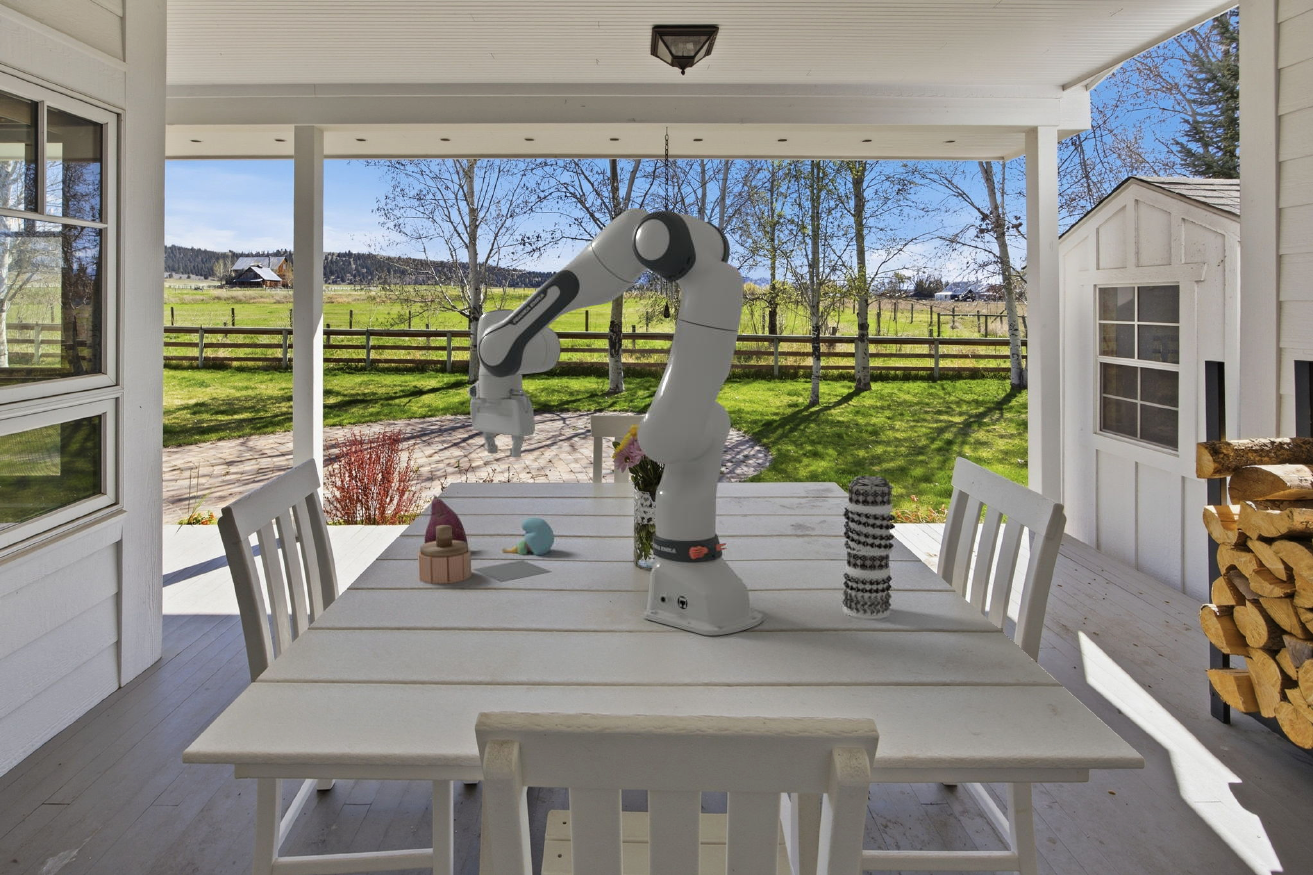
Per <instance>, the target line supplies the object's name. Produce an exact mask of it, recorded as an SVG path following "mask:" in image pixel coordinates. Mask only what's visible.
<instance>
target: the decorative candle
mask: <svg viewBox="0 0 1313 875" xmlns="http://www.w3.org/2000/svg"><path fill="white" fill-rule="evenodd" d="M847 487H848V501H847V506H846V507H844V510H845V511H844V513H843V514H842V515H843V517H844V519H845V520H846V521H845V522H844V524H843V527H844V528H845V530H844V532H843V536H844V538H845V539H846V540H845V542H844V544H843V545H844V550H845V551H847V552H846V563H845V573H844V574H843V578H844V580H845V581H844V582H843V586H844V588H845V589H844V590H843V591H842V595H843V597H844V598H843V599H842V604H843V605H844V606H843V607H842V611H843V613H844V614H845V615H848V616H849V615H850V617H853V618H856V619H862V620H863V619H864V620H879V619H885V618H887V617H889V616H890V614H891V611H890V607H892V603H891V602H890V600H891V599H892V595H891V593H890V592H889V591H890V590H891V589H892V585H891V581H892V580H893V577H892V576H891V566H890V554H892V552H893V548H894V544H893V543H892V542H891V541H892V540H893V539H894V537H895V536H894V535H893V534H891V531H892V530H893V529H895V528H896V526H895V524H893V523H892V522H893V521H894V520H896V516H894V515H893V513H892V512H893V503H892V489H894V486H893V485H891V484H890V482H889V480H887V478H885V477H882V476H877V475H860V476H856V477H854V479H853V480H852V481H851V483H849V484H847ZM884 617H885V618H884Z"/></svg>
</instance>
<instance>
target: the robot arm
mask: <svg viewBox="0 0 1313 875" xmlns="http://www.w3.org/2000/svg"><path fill="white" fill-rule="evenodd" d="M730 254H731V247H730V243H729V240H728V237H727V236H726V234H725V233H724V231H722V229H721V228H720V227H718V226H717V225H715V224H714V223H711V222H709V221H705V220H702V219H699V218H698V217H696V216H693V215H691V214H686V213H681V212H674V211H671V210H657V211H653V212H649V211H647V210H645V209H642V208H638V207H637V208H636V207H632V208H629V209H626V210H625V211H623V212H622V213H620V214H619V215H618V216H616V217H615V218H614V219H613V220H611V222H609V223H608V224H607V225H606V226H604V228H603V229H601V231H599V232H598V234H597V235H595V237H594V238H593V239H592V240H591V241H590V242H589V243H588V244H587V245H586V246H585V247H584V248H583V249H582V251H580V252H579V254H577V255H576V257H574V258H573V259H572V260H571V261H570V262H569V263H568V264H566V266H564V267H563V268H562V269H561V270H559V271H558V272H556V273H555V274H554V275H552V276H551V277H550V278H549V279H548V280H546V282H544V283H543V284H542V285H541V286H540V287H539V288H538V289H536V290H535V291H534V292H533V293H532V294H531V295H530V296H529V297H528V298H527V299H525V301H523V302H522V303H521V305H519V306H518V307H517V308H516V309H510V308H503V309H502V308H501V309H495V310H489V311H487V312H485V313H483V314H482V315H481V316H480V317H479V320H478V325H477V333H476V334H477V336H476V340H477V341H476V344H477V347H476V349H477V356H478V359H479V369H478V380H477V381H476V382H474V384H472V385H470V386H469V387H468V389H467V391H468V392H467V393H468V397H469V398H471V399H470V402H469V403H470V405H469V407H470V408H469V409H470V421H471V426H472V428H473V430H474V431H475V432H482V437H483V440H484V442H485V445H486V452H487V454H492V455H494V454H497V453H498V451H499V449H498V447H499V446H498V444H496V440H495V437H496V434H497V435H504V436H505V435H506V436H510V437H511V441H512V445H511V448H509V456H510V457H511V458H520V457H521V456H522V447H523V444H524V441H525V437H531V436H533V435H534V433H535V431H536V424H535V423H536V422H535V414H534V408H533V407H534V406H533V404H532V402H531V400H530V397H529V396H528V394H527V393H526V391H525V390H524V389H523V375H526V374H528V375H529V374H534V373H535V374H536V373H543V372H547V371H551V370H552V369H553V368H555V367H556V366H557V364H558V363H559V361H560V357H561V351H562V346H561V342H560V339H559V336H558V335H557V332H555V330H554V329H552V328H550V327H549V326H550V325H552V323H553V322H554V321H556V320H557V319H559V317H561V316H563V315H565V314H568V313H569V312H570V313H571V312H573V311H576V310H580V309H584V308H589V307H595V306H600V305H605V304H609V303H611V302H612V301H614V300H616V299H618V298H619V297H620V296H621V295H623V294H624V293H625V292H626V291H628V289H630V288H631V287H632V286H633V285H634V283H635V282H636V281H637V280H638V279H639V278H640V277H641V276H642V275H643V274H644V273H645V272H646V271H647V270H649V271H651V272H652V273H654V274H656V275H657V276H659V277H661V278H662V279H663V280H665V281H666V282H668V283H674V282H677V284H678V285H679V288H680V293H681V298H680V304H679V309H678V314H677V319H676V323H675V328H674V334H673V336H672V337H673V339H672V343H671V347H670V353H669V357H668V360H667V364H666V367H665V370H664V373H663V375H662V378H661V380H660V382H659V384H658V387H657V389H656V392H655V394H654V396H653V399H652V400H651V404H650V406H649V407H648V409H647V412H646V413H645V414H644V415H643V416H642V418H641V419H640V421H639V424H638V427H637V430H636V438H637V442H638V445H639V448H640V450H641V451H642V453H643V454H644V455H645V456H646V457H647V458H648V459H650V460H651V461H653V462H656V463H658V464H659V463H660V464H664V468H663V472H662V475H661V479H660V482H659V484H658V486H657V487H656V491H655V533H653V535H652V536H653V537H652V539H653V540H652V553H653V555H654V561H653V564H652V565H653V566H652V569H651V571H650V576H649V578H650V579H649V587H648V588H649V589H648V597H647V604H646V609H644V611H643V619H645V620H649V621H653V622H656V623H659V624H664V625H667V626H671V627H674V628H677V629H682V630H686V631H689V632H692V633H697V634H700V635H704V636H722V635H727V634H734V633H737V632H741V631H744V630H745V631H746V630H747V629H750V628H755V627H756V626H758V625H759V624H761V623H762V622H763V621H764V616H763V614H762V613H760V612H759V611H756V610H754V609H753V608H751V606H750V595H749V589H748V587H747V585H746V583H745V582H743V578H742V579H741V577H739V576H738V574H736V572H735V570H733V569H732V567H731V566H730V565H729V564H728V563H727V561H726V560H725V558H724V557H723V556H724V555H723V550H727V547H724V546H726V545H727V543H726V542H724V543H720V538H719V536H718V534H717V533H716V531H717V530H716V526H717V522H716V520H717V519H716V518H717V514H716V513H717V493H718V492H717V491H718V486H719V485H718V484H719V478H720V472H721V468H722V463H723V456H724V451H725V445H726V442H727V439H728V437H729V435H730V432H731V428H732V427H731V426H732V425H731V424H732V423H731V417H730V415H729V413H728V410H727V409H726V408H725V407H724V406H723V405H722V404H721V403H719V402H717V401H716V400H717V399H718V396H719V393H720V391H721V390H722V387H723V385H724V383H725V381H726V380H727V378H728V377H729V374H730V371H731V368H732V362H733V358H734V354H735V349H736V344H737V338H738V334H739V330H740V324H741V320H742V319H741V318H742V312H743V311H742V310H743V301H744V277H743V275H742V273H741V272H740V270H738V269H737V268H736V267H735V266H734V265H732V264H730V263H728V262H729V260H730Z"/></svg>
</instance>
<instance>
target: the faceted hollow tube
mask: <svg viewBox="0 0 1313 875" xmlns="http://www.w3.org/2000/svg"><path fill="white" fill-rule="evenodd" d="M417 577H418V579H419V581H420V582H424V583H429V584H451V583H457V582H462V581H466V580H467V579H469V578H471V577H472V551H471V549H470V548H469V547H468V552H466V553H465V554H462V555H458V556H452V557H428V556H424V555H422V554H421V553H420V550H418V551H417Z"/></svg>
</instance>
